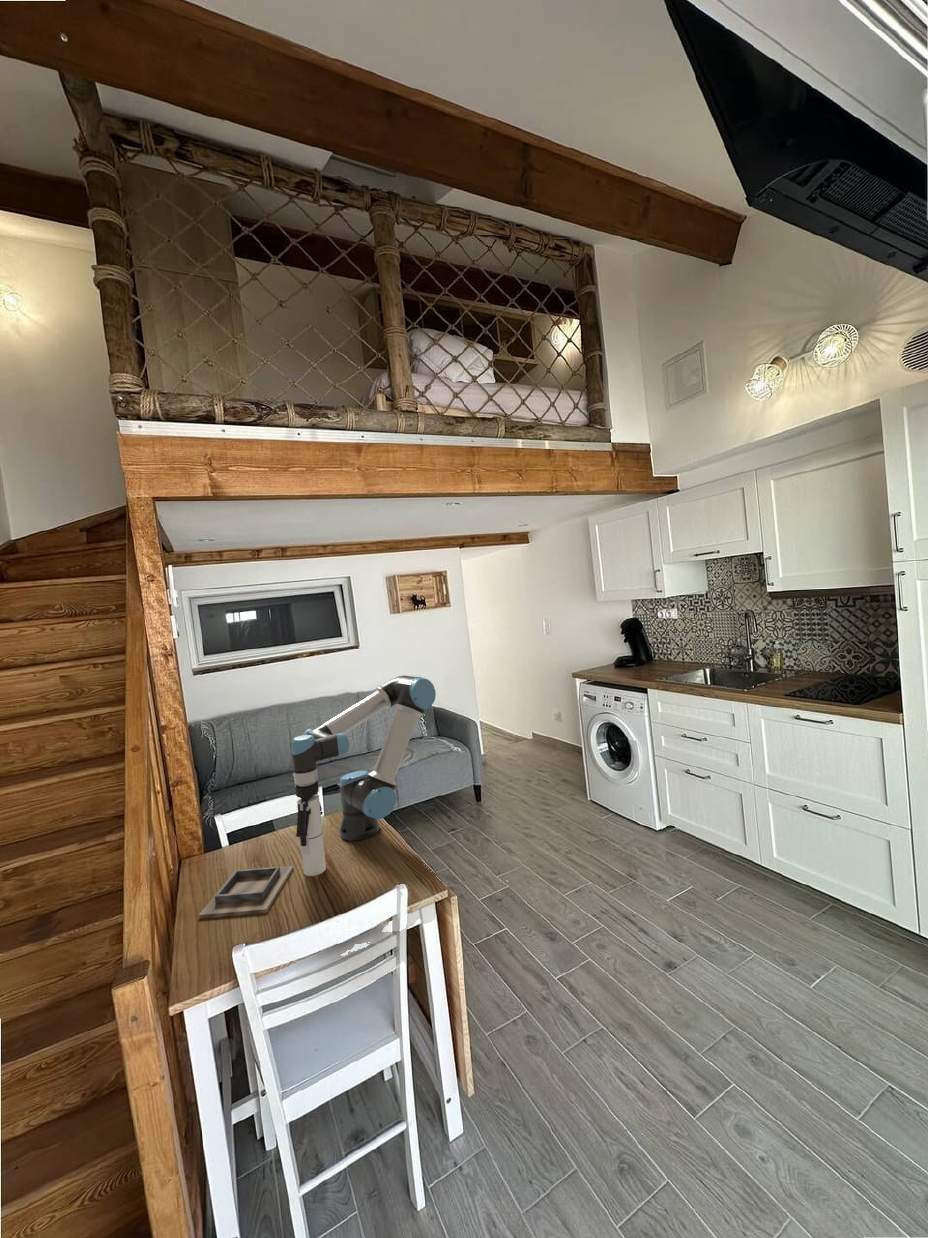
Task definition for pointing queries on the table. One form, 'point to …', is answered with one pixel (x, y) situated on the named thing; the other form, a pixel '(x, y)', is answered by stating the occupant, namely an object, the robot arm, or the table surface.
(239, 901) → the board
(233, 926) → the table surface
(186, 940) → the table surface
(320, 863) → the cylindrical container
